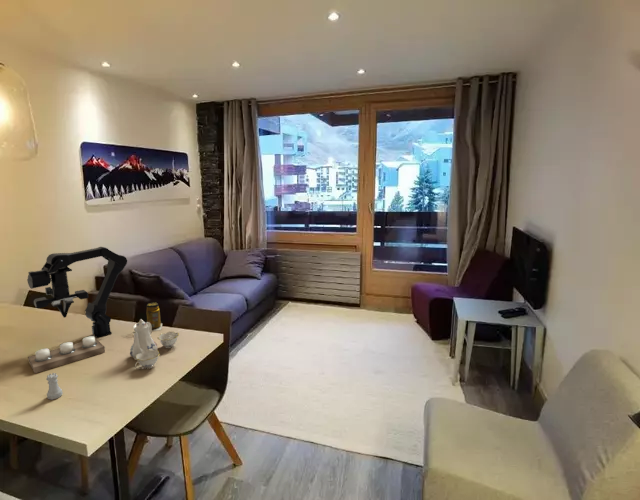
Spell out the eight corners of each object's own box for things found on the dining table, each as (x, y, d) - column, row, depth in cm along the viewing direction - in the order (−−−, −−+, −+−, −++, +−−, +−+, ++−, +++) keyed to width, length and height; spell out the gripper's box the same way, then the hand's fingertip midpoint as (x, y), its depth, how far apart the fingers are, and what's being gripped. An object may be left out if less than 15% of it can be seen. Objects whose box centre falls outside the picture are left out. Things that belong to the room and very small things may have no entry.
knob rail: (96, 343, 163) (95, 337, 162) (105, 352, 155) (104, 346, 154) (29, 362, 146) (28, 356, 145) (34, 373, 138) (33, 367, 137)
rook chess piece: (52, 392, 125) (49, 371, 124) (66, 392, 126) (62, 371, 124) (43, 400, 121) (40, 378, 119) (58, 399, 121) (54, 378, 120)
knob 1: (48, 354, 147) (47, 347, 146) (51, 357, 144) (50, 350, 143) (35, 358, 144) (34, 351, 143) (37, 361, 141) (36, 354, 140)
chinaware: (157, 377, 139) (158, 336, 135) (112, 373, 138) (112, 333, 134) (181, 344, 166) (183, 309, 163) (144, 341, 165) (145, 306, 162)
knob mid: (72, 347, 153) (71, 341, 152) (74, 351, 150) (74, 344, 149) (59, 351, 150) (58, 344, 149) (62, 354, 147) (61, 347, 146)
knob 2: (93, 341, 158) (92, 335, 158) (96, 344, 155) (95, 338, 155) (82, 344, 155) (81, 338, 155) (84, 348, 152) (84, 341, 152)
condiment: (162, 323, 185) (160, 301, 183) (161, 330, 177) (159, 306, 175) (146, 325, 182) (144, 302, 180) (144, 332, 175) (142, 308, 172)
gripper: (79, 275, 167) (84, 307, 171) (28, 283, 154) (34, 318, 157) (86, 279, 160) (91, 313, 163) (33, 289, 147) (39, 325, 150)
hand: (64, 317), depth 158 cm, fingers closed
